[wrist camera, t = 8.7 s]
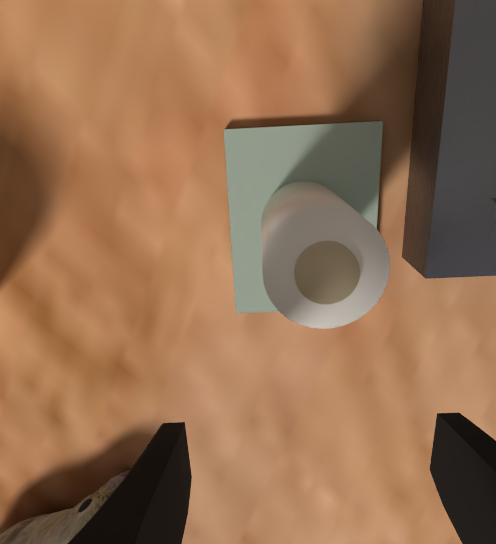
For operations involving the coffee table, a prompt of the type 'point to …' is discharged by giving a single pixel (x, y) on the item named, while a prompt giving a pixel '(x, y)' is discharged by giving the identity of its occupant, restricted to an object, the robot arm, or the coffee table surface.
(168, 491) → the robot arm
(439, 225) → the housing
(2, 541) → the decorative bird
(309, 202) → the plug
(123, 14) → the coffee table surface
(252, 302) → the mat
